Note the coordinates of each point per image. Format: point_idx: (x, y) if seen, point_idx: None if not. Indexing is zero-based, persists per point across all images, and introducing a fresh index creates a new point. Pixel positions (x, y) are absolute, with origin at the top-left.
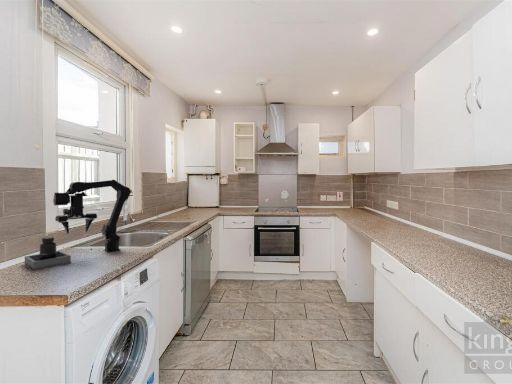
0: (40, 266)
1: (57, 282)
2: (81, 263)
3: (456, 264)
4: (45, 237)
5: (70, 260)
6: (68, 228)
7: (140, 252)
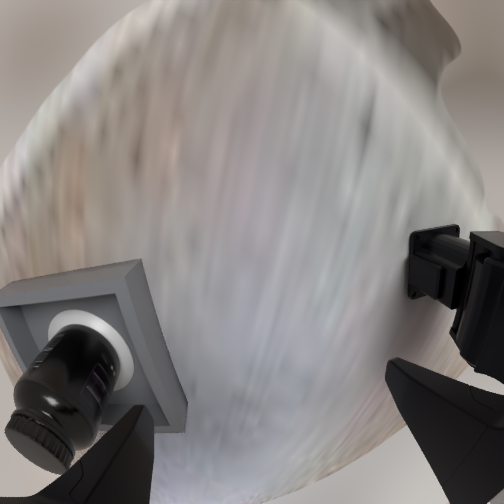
0: None
1: (157, 497)
2: (229, 424)
3: None
4: (14, 437)
5: (185, 413)
6: (147, 500)
7: (455, 366)
